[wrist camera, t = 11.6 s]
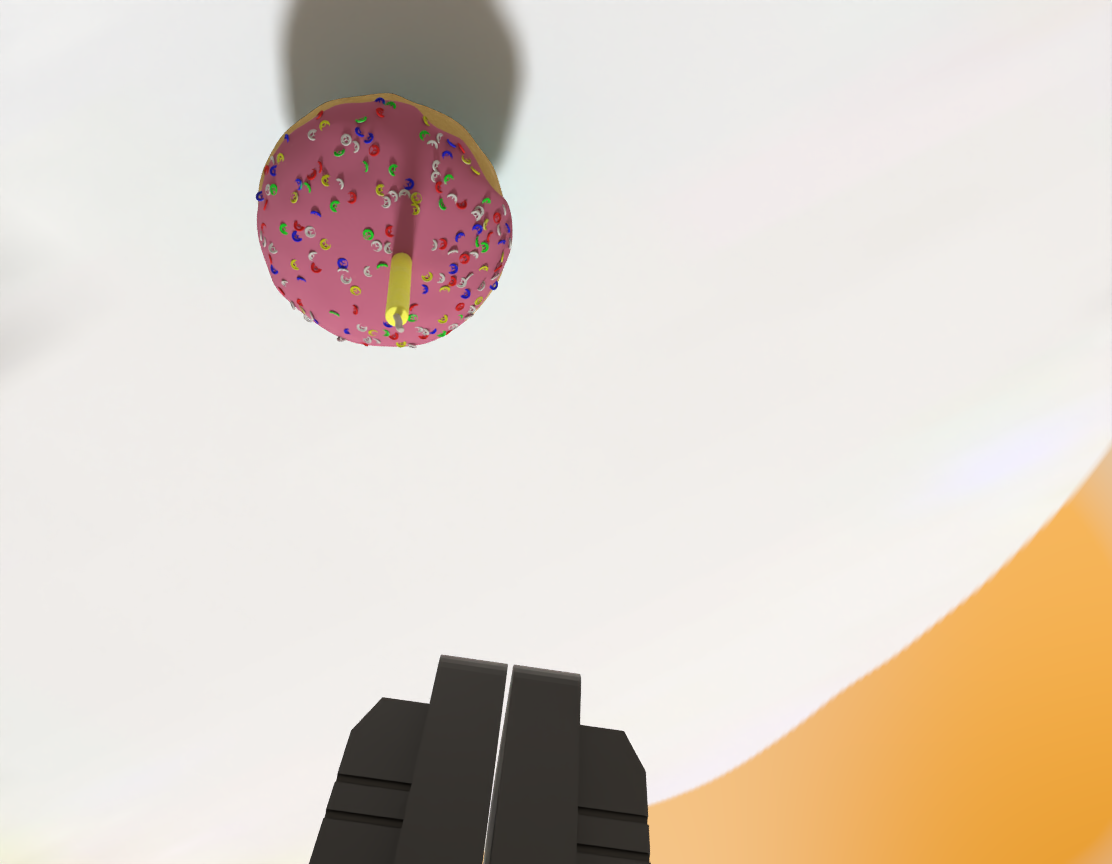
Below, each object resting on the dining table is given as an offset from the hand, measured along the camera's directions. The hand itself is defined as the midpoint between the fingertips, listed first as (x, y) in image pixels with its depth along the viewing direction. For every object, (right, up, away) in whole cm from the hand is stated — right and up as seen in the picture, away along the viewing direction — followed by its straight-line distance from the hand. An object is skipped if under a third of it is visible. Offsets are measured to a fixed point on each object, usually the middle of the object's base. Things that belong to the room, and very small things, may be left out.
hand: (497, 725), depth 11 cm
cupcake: (-5, +12, +27) cm, 30 cm away
